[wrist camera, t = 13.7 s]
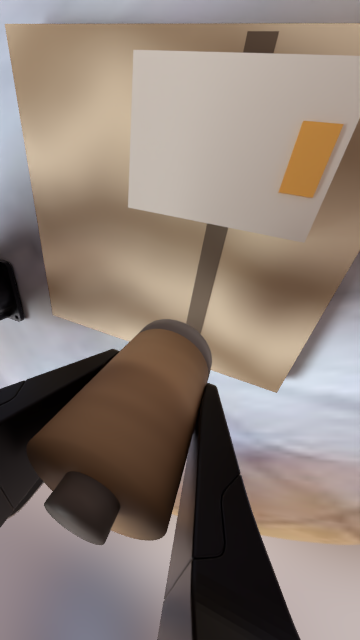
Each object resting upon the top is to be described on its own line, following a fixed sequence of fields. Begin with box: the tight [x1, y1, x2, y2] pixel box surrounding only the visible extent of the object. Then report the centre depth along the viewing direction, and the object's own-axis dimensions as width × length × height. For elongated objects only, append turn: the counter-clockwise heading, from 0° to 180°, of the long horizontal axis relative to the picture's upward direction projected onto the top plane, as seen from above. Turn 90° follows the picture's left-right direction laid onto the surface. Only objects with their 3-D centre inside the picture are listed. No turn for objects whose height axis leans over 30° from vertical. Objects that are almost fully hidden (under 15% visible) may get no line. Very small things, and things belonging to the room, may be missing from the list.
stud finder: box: [128, 50, 360, 243], centre depth 9 cm, size 5×8×3 cm, turn 80°
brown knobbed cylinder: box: [26, 319, 212, 545], centre depth 7 cm, size 4×4×7 cm
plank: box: [5, 23, 360, 393], centre depth 13 cm, size 17×20×2 cm
